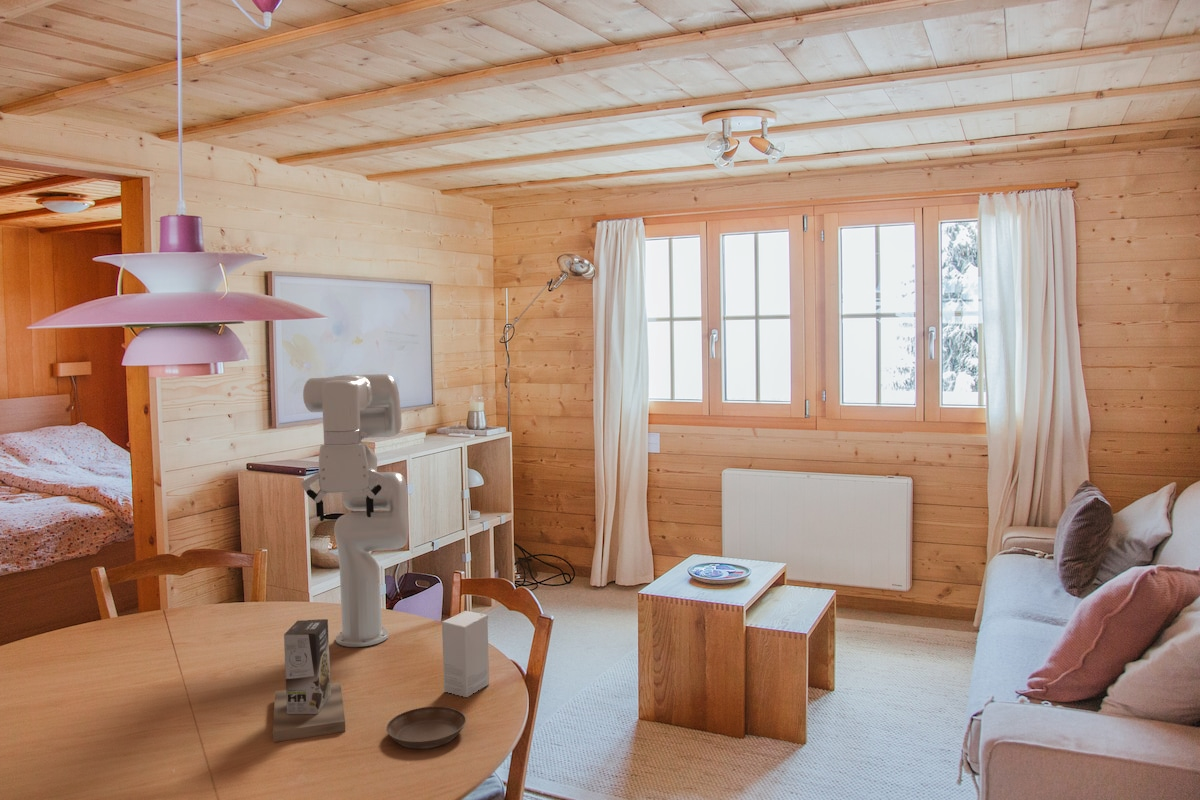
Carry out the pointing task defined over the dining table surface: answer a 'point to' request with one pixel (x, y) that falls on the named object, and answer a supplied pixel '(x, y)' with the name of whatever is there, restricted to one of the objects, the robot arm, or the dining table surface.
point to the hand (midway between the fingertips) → (345, 517)
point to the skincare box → (465, 653)
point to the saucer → (426, 727)
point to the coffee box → (307, 666)
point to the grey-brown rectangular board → (308, 718)
